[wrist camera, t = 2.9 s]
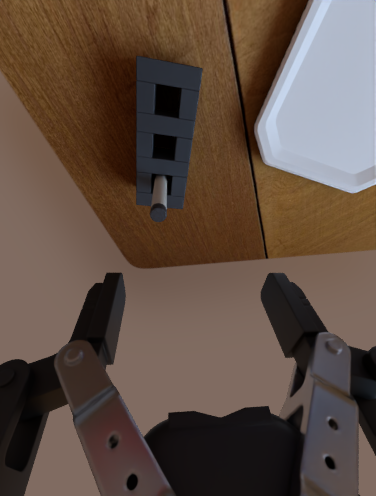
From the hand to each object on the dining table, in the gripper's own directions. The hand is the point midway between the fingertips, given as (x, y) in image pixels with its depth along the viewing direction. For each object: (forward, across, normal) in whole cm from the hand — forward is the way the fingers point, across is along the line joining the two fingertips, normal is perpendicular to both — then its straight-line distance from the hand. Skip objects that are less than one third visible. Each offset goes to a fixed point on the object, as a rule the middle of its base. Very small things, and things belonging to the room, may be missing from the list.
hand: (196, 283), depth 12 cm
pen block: (+20, +2, -3) cm, 21 cm away
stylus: (+20, +2, 0) cm, 21 cm away
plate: (+20, -20, -10) cm, 30 cm away
